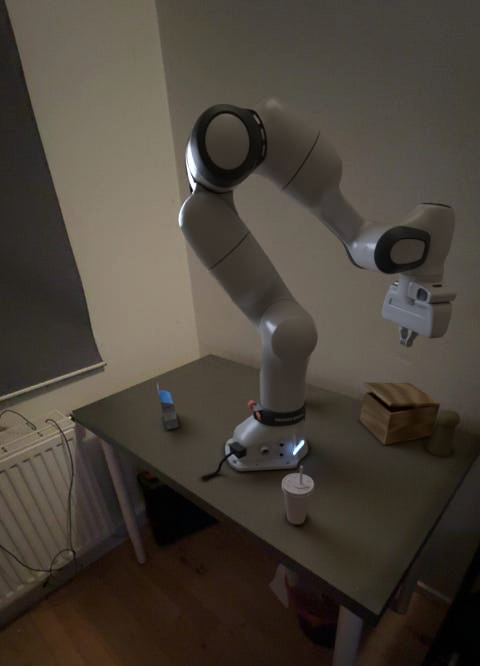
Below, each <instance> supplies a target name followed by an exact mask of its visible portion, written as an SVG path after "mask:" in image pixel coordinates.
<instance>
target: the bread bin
mask: <svg viewBox="0 0 480 666" xmlns="http://www.w3.org/2000/svg"><path fill="white" fill-rule="evenodd" d="M440 407H441V405H440V406H389V405H388V404H387V403H385V402H384V401H383V400H382V399H380V398H379V397H378V396H377V395H375V394H374V393H373V392H372V391H370V390H369V391H364V392H363V397H362V405H361V412H360V416H359V417H360V418H359V421H360V423H362V425H363V426H364V427H366V428H367V429H368V431H370V432H371V434H373V435H374V436H375V438H377V439H378V440H379V442H381V443H382V444H383V445H385V446H387V445H392V444H397V443H402V442H409V441H414V440H418V439H424V438H430V436H431V434H432V432H433V430H434V428H435V425H436V416H437V414H438V413H439V410H440Z"/></svg>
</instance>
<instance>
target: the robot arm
mask: <svg viewBox="0 0 480 666" xmlns="http://www.w3.org/2000/svg"><path fill="white" fill-rule="evenodd" d="M184 165H185V173H186V178H187V183H188V187H189V192H190V193H189V194H190V195H189V196H188V198H186V199H185V201H184V203H183V205H182V206H181V208H180V211H179V214H178V226H179V228H180V231H181V232H182V234H183V236H184V238H185V240H186V242H187V243H188V245H189V247H190V248H191V250H192V251H193V253H194V255H195V256H196V257H197V259H198V261H200V263H201V265H202V266H203V267H204V268H205V270H206V271H207V272H208V273H209V275H210V276H211V277H212V278H213V280H214V282H216V283H217V284H218V286H219V287H220V289H222V291H223V292H224V293H225V295H226V297H228V298H229V300H230V301H231V302H232V303H233V304H234V305H235V306H236V307H237V309H239V310H240V312H241V313H242V314H243V315H244V317H246V318H247V320H248V321H249V322H250V323H251V324H252V325H253V327H254V328H255V329H256V331H257V332H258V334H259V335H260V338H261V344H262V355H261V367H260V371H259V396H260V397H259V398H260V399H259V400H258V402H257V403H256V401H255V400H254V399H250V400H248V402H247V406H248V408H249V409H250V410H251V411H252V415H250V416H249V417H247V418H246V419H245V420H243V421H242V422H241V423H240V424H238V425H236V427H235V428H234V431H233V436H232V437H231V438H229V439H227V440H226V443H225V446H224V454H225V456H224V457H223V458H222V459H221V460H220V461H219V464H218V467H217V469H216V470H215V471H214V472H212V473H209V474H208V473H207V474H205V475H202V476H201V480H205V479H208V478H212V477H215V476H216V475H217V474H219V473H220V472H221V470H222V466H223V465H224V463H225V461H227V462H228V464H229V465H230V466H231V468H233V469H234V470H236V471H238V472H248V471H249V472H250V471H251V472H252V471H269V470H272V471H273V470H286V469H288V470H290V469H295V468H297V467H298V465H299V462H300V461H301V460H302V459H303V458H304V457H305V456H306V455H307V454H308V451H309V445H308V442H307V437H306V431H305V430H306V429H305V421H306V416H307V402H306V399H305V398H306V385H307V373H308V369H309V368H308V367H309V364H310V360H311V357H312V353H313V352H314V351H315V349H316V347H317V344H318V340H319V339H318V338H319V335H318V330H317V329H318V328H317V326H316V323H315V320H314V317H313V316H312V315H311V314H310V312H308V310H306V308H304V307H303V306H302V305H301V304H300V302H298V300H296V298H295V297H294V296H293V294H292V292H291V291H290V289H289V288H288V287H287V285H286V283H285V281H284V280H283V278H282V277H281V275H280V274H279V272H278V270H277V268H276V267H275V265H274V263H273V262H272V261H271V259H270V258H269V256H268V255H267V253H266V252H265V250H264V249H263V248H262V246H261V245H260V243H259V242H258V240H257V239H256V237H255V236H254V235H253V233H252V231H251V230H250V228H249V227H248V226H247V225H246V223H245V222H244V220H243V219H242V218H241V217H240V215H239V212H238V210H237V207H236V205H235V200H234V191H235V190H236V189H237V188H238V187H240V185H241V184H242V183H244V181H245V180H246V179H248V178H249V177H250V176H251V175H252V174H254V175H258V176H260V177H261V178H264V179H265V180H267V181H268V182H269V183H270V184H271V185H272V186H273V187H274V188H275V189H277V191H278V192H280V194H282V195H283V196H285V198H287V199H288V200H289V201H291V202H292V203H293V204H295V205H296V206H298V208H301V209H303V211H304V210H305V211H307V212H308V213H310V214H311V215H313V216H314V217H315V218H317V219H318V220H319V221H320V222H321V223H322V224H323V225H324V226H325V227H326V228H327V229H328V230H329V231H330V232H331V233H332V234H333V235H334V236H335V237H336V238H337V239H338V240H339V241H340V242H341V244H342V245H343V248H344V251H345V252H346V255H347V258H348V260H349V261H350V263H351V264H352V265H353V266H354V267H356V268H357V269H360V270H366V271H367V270H368V271H372V272H374V273H378V274H383V275H389V276H391V275H395V274H399V278H398V280H395V281H394V282H392V283H391V284H390V285H389V289H388V290H387V292H386V294H385V298H384V301H383V305H382V308H381V316H382V318H383V319H385V320H387V321H390V322H391V323H394V324H395V325H398V334H399V341H398V344H399V345H401V346H403V347H405V348H411V347H412V346H413V344H414V340H415V339H416V338H417V337H418V336H419V335H420V336H423V337H425V338H427V339H439V338H442V337H443V336H445V335H446V333H447V332H448V329H449V326H450V322H451V318H452V313H453V304H452V302H453V301H455V300H456V298H457V295H458V293H457V290H456V289H455V288H453V287H452V286H451V285H450V284H449V283H448V282H447V281H446V280H445V279H444V278H443V277H444V273H445V261H446V259H447V257H448V255H449V253H450V250H451V246H452V241H453V238H454V232H455V227H456V211H455V209H454V208H453V207H452V206H451V205H448V204H444V203H437V202H436V203H435V202H422V203H419V204H418V205H416V207H415V208H414V209H413V210H412V211H410V212H409V213H407V214H406V215H404V216H402V217H400V218H399V219H396V220H394V221H391V222H390V223H389V222H378V221H374V220H370V219H367V218H365V217H363V216H362V214H360V212H359V211H358V210H357V209H356V208H355V207H354V205H352V204H351V203H350V201H349V200H348V199H347V198H346V197H345V196H344V194H343V193H342V190H341V188H340V185H341V181H342V177H343V160H342V158H341V156H340V154H339V153H338V151H337V149H336V148H335V146H334V145H333V143H332V142H331V141H330V139H328V137H327V135H325V134H324V133H323V132H322V131H321V130H320V129H319V128H318V127H317V126H316V125H315V124H314V123H313V122H312V121H311V119H309V118H308V117H307V116H305V115H304V114H303V113H302V112H300V111H299V110H298V109H297V108H295V107H294V106H292V104H289V103H288V102H287V101H285V100H283V99H282V98H281V97H278V96H275V95H274V96H273V95H272V96H268V97H265V98H263V99H262V100H260V102H258V103H257V104H256V105H255V106H254V108H253V109H250V108H245V107H239V106H237V105H233V104H229V103H218V104H214V105H212V106H210V107H207V108H206V109H205V110H204V111H203V112H202V113H201V114H200V115H199V116H198V118H197V119H196V121H195V123H194V126H193V128H192V129H191V131H190V134H189V136H188V139H187V142H186V149H185V155H184Z"/></svg>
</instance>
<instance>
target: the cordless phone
mask: <svg viewBox="0 0 480 666" xmlns="http://www.w3.org/2000/svg"><path fill="white" fill-rule="evenodd" d="M156 385H157V393H158V398H159V402H160V407H161V412H162V416H163V420H164V424H165V428H166V430H167V431H169V430H174V429H177V428H179V422H178V417H177V413H176V408H175V403H174V400H173V397H172V393H171V391H167V390H162V389H159V382H157V383H156Z"/></svg>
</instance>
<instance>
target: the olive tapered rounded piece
mask: <svg viewBox="0 0 480 666" xmlns="http://www.w3.org/2000/svg"><path fill="white" fill-rule="evenodd" d="M460 422H461V416H460V414H459V413H458V412H456V411H454V410H450V409H441V410H440V411H438V414H437V416H436V421H435V424H434V428H433V431H432V434H431V436H430V437H428V440H427V442H426V444H425V449H426V450H427V452H429V453H431V454H433V455H436V456H440V457H446V456H450V455H451V454H452V449H453V443H454V437H455V430H456V427H457V426H458V425H459V424H460Z"/></svg>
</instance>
